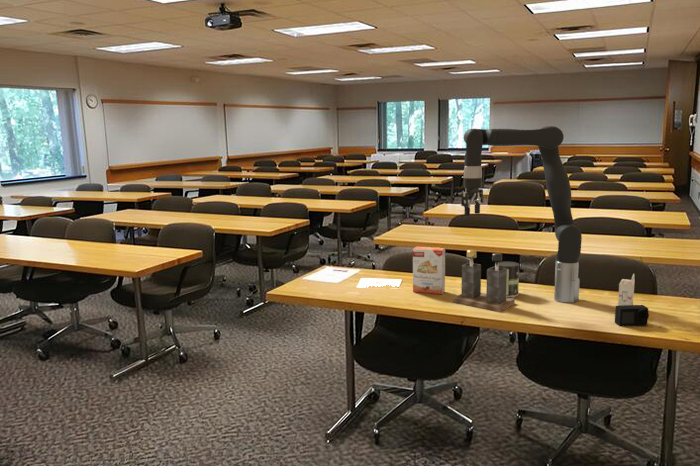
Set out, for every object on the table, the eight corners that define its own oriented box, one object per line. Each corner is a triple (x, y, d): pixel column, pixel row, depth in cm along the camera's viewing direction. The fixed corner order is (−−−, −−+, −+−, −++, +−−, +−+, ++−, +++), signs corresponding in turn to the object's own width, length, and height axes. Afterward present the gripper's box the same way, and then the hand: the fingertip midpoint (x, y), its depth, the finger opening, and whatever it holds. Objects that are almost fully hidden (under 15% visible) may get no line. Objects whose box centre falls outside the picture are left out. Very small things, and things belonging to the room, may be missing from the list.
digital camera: (621, 327, 210) (622, 309, 209) (614, 322, 216) (615, 305, 214) (648, 327, 210) (650, 309, 209) (641, 322, 216) (642, 304, 214)
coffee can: (517, 291, 260) (518, 261, 257) (519, 297, 250) (520, 266, 247) (494, 290, 262) (495, 260, 259) (495, 297, 252) (496, 266, 249)
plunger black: (503, 296, 239) (504, 253, 236) (498, 298, 236) (499, 255, 233) (494, 294, 242) (494, 252, 239) (489, 296, 239) (490, 254, 236)
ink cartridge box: (619, 305, 235) (622, 271, 232) (633, 307, 232) (635, 272, 230) (617, 311, 228) (619, 276, 225) (630, 313, 225) (633, 277, 223)
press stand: (514, 303, 242) (515, 267, 239) (499, 311, 231) (500, 274, 229) (468, 294, 256) (469, 260, 253) (452, 302, 246) (452, 266, 243)
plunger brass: (477, 291, 247) (478, 250, 244) (472, 293, 244) (473, 252, 241) (469, 289, 250) (469, 249, 247) (464, 292, 247) (464, 250, 244)
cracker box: (412, 292, 262) (412, 248, 258) (416, 289, 268) (415, 245, 264) (442, 295, 257) (442, 250, 253) (445, 291, 262) (445, 247, 258)
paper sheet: (407, 281, 283) (407, 279, 282) (393, 300, 256) (393, 298, 255) (362, 278, 290) (362, 276, 290) (344, 296, 263) (344, 294, 263)
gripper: (472, 178, 230) (471, 217, 233) (488, 175, 241) (488, 213, 244) (456, 177, 235) (455, 216, 238) (473, 175, 246) (472, 211, 249)
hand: (472, 214), depth 241 cm, fingers open, 8 cm apart
